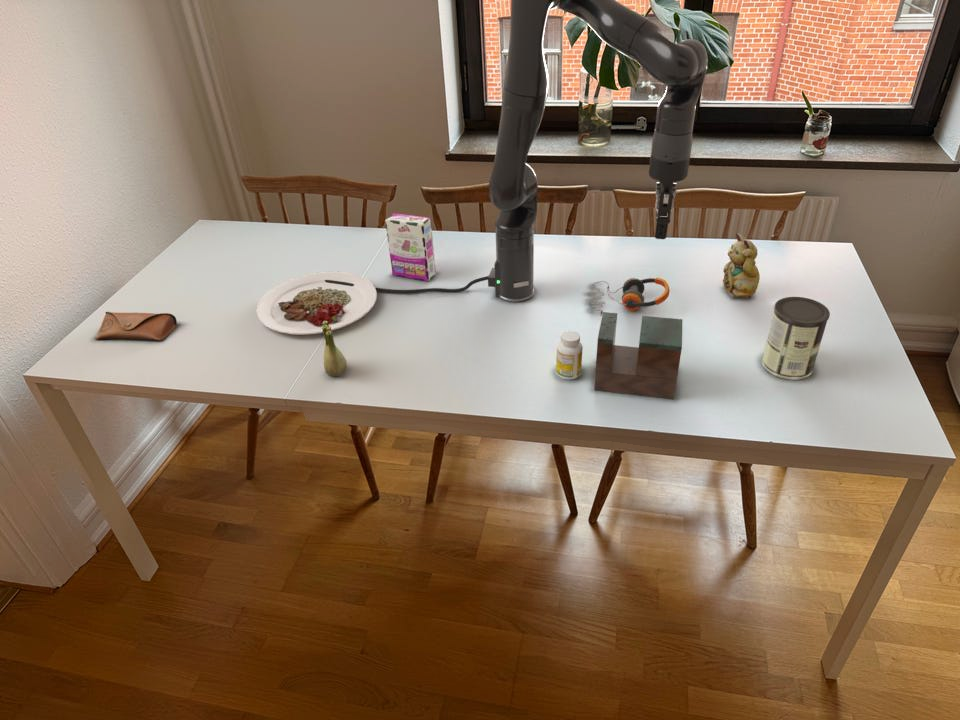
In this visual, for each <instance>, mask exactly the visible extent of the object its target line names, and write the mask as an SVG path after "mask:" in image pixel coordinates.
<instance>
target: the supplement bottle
mask: <svg viewBox="0 0 960 720" xmlns="http://www.w3.org/2000/svg"><path fill="white" fill-rule="evenodd" d="M583 348H584V347H583V344H582V342H581V335H580V332H577V331H575V330H565V331H562V333H561V334H560V341H559V342H558V343H557V345H556V366H555V370H556V371H555V372H556V373H555V374H556V375H557V376H558V377H559V378H561V379H563V380H575V379H577V378H579V377H580V375H581V373H582V363H583Z"/></svg>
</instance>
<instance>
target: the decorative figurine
mask: <svg viewBox="0 0 960 720" xmlns="http://www.w3.org/2000/svg"><path fill="white" fill-rule="evenodd" d="M735 236H736V241H734V242H733V243H731V246H730V247H729V249H728V251H727V256H728V257H729V261H727V262H726V263H725V265H724V267H723V269H722V270H723V273H724V274H723V278H722V285H723V288H724V290H725V292H726V293H727V294H728V295H729V296H730V298H731V299H739V298H740V299H749V298H751V297H752V296H753V295H755V293H756V291H757V290H758V287H759V284H760V279H761V278H760V277H761V276H760V272H759V269H758V266H757V265H756V264H757V262H756V258H757V257H758V248H757V246H756V245H755V244H754V242H752V241H751V240H749V239H747V238H746V237H745V236H744V235H743V234H741V233H739V232H736V233H735Z"/></svg>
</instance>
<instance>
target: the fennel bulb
mask: <svg viewBox="0 0 960 720" xmlns="http://www.w3.org/2000/svg"><path fill="white" fill-rule="evenodd" d="M322 325H323V327H322V330H323V337H324V341H325V344H324V350H323V367H324V372H325V374H327V375H328V376H329V377H339V376H341V375H342V374H344V373H345V371H346V370H347V369H348V362H347V359H346V358H345V355H344V353H343V352H342V351H341V350H340V349H339V348H338V347H337V346H336V344H335V340H334V335H333V331H331V327H330V326H329V325H328V321H323V323H322Z"/></svg>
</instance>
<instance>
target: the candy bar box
mask: <svg viewBox="0 0 960 720" xmlns="http://www.w3.org/2000/svg"><path fill="white" fill-rule="evenodd" d="M384 222H385V231H386V236H387V243H388V245H387V246H388V251H389V258H390V259H389V260H390V265H391V273H392V274H391V275H392V276H393V277H399V278H405V279H411V280H417V281H424V282H430V280H432V278H433V277H435V275H436V273H437V271H436V263H435V262H436V261H435V250H434V241H433V240H434V239H433V230H432V220H431V217H426V216H419V215H410V214H403V213H402V214H401V213H392V214H391V215H390V216H388V217H387V218H386V219H384Z"/></svg>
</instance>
